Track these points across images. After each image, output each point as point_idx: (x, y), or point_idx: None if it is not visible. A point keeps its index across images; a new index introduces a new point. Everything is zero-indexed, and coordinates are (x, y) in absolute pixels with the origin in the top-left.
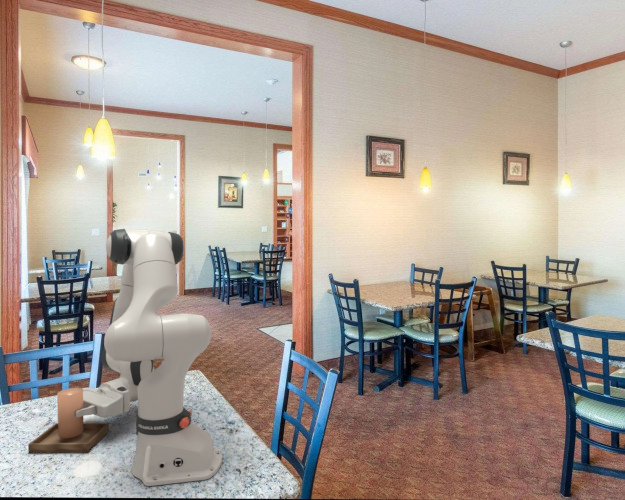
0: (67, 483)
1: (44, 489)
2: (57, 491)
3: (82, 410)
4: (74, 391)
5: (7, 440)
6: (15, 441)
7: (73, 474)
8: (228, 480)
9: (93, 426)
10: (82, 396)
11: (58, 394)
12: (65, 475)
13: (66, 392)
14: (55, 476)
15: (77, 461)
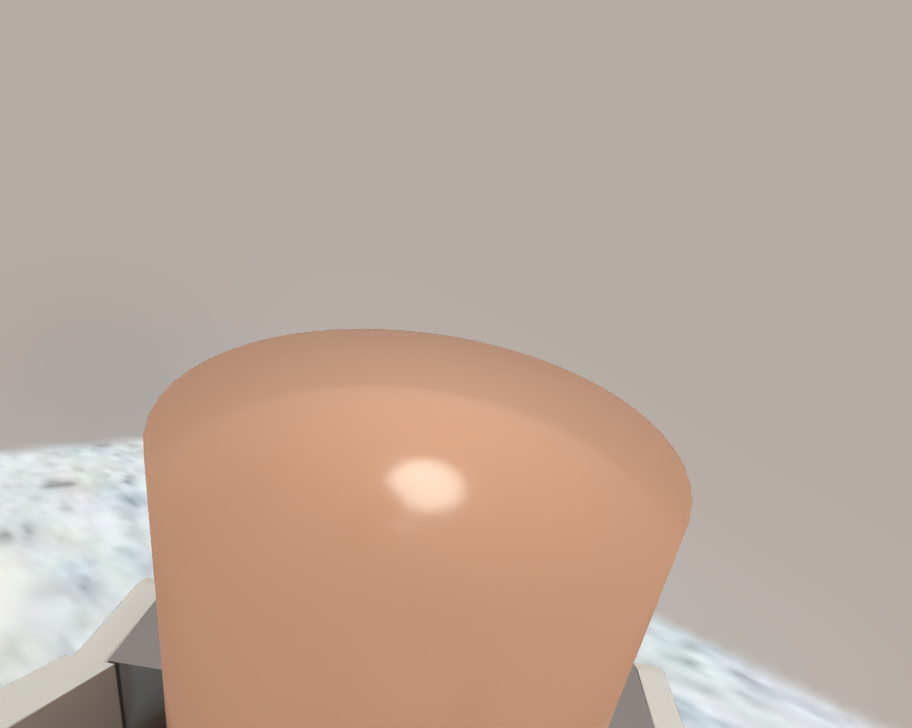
0: (18, 497)
1: (124, 459)
2: (48, 459)
3: (88, 651)
4: (358, 427)
5: (816, 706)
6: (762, 717)
7: (13, 550)
8: None
9: None
10: (156, 596)
11: (497, 351)
12: (67, 535)
13: (467, 389)
14: (127, 520)
15: (48, 660)
